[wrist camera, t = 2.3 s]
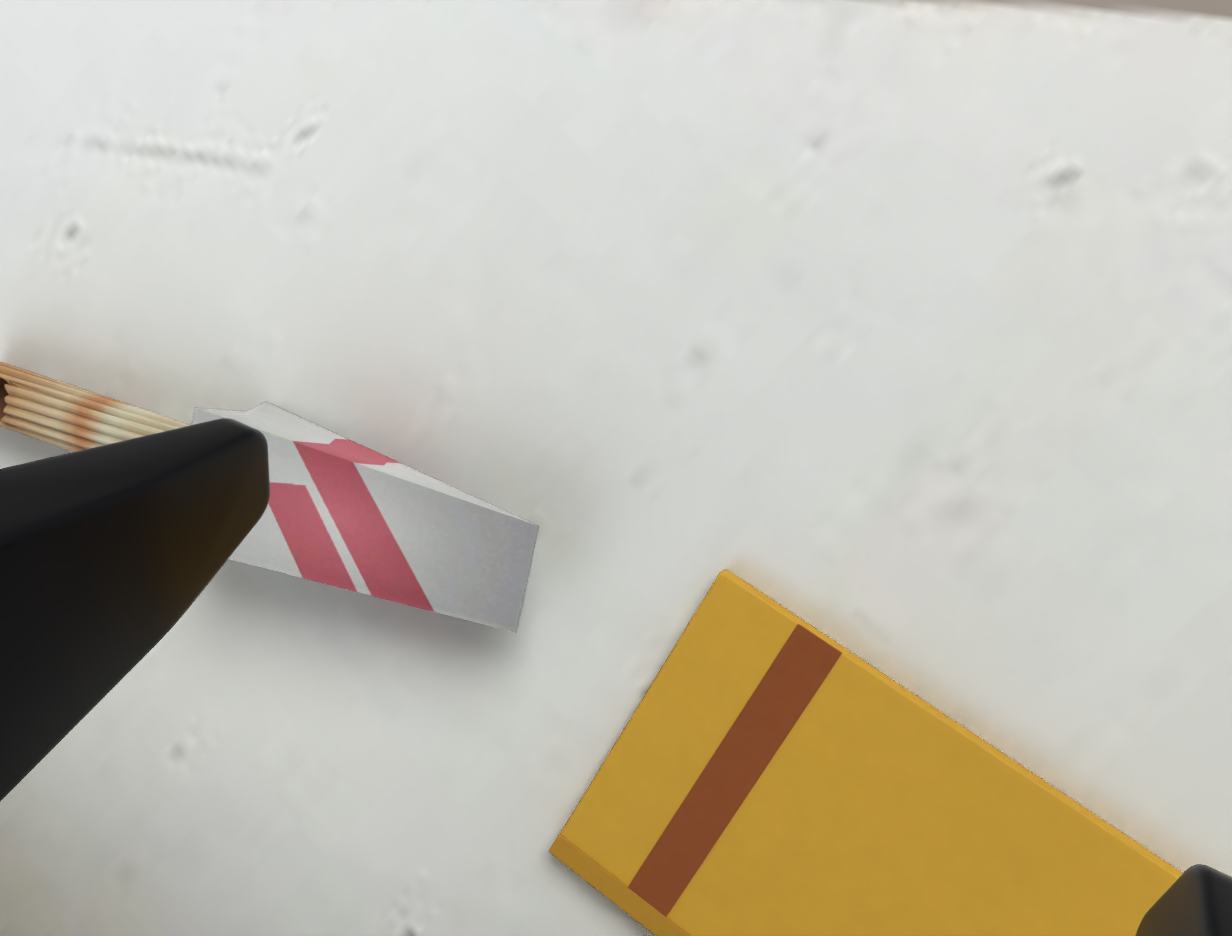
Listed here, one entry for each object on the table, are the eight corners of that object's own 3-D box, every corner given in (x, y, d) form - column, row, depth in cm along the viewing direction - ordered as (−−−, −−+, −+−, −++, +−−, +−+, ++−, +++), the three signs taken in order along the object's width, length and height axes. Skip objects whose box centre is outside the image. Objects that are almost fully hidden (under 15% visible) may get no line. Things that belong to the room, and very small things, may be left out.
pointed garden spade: (481, 670, 25) (-79, 441, 32) (535, 642, 27) (4, 436, 34) (515, 514, 24) (-66, 316, 31) (567, 500, 27) (18, 320, 34)
